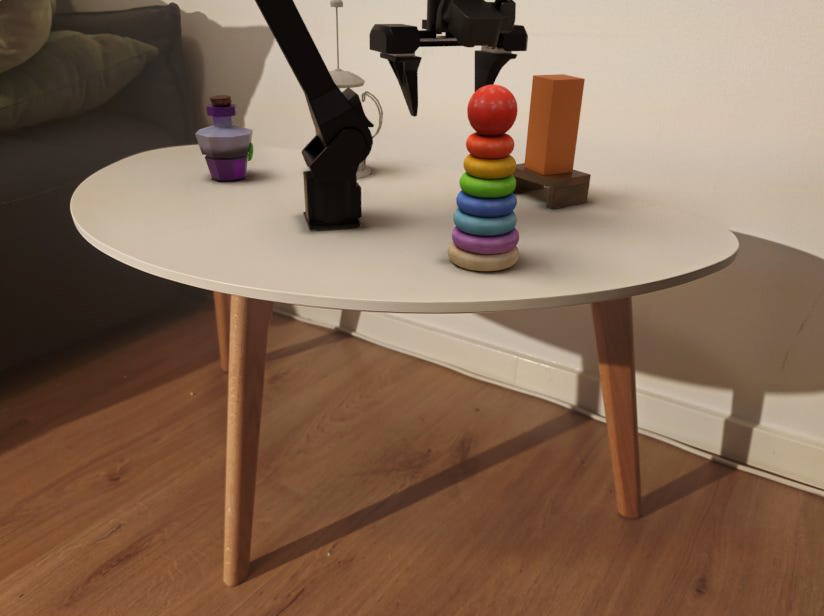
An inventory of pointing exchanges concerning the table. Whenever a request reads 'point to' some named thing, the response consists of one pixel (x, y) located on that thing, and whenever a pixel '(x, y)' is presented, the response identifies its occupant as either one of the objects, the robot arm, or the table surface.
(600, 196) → the table surface
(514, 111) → the stacking toy
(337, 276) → the table surface
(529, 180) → the walnut shelf
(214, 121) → the potion bottle
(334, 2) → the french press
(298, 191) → the table surface
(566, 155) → the orange box
